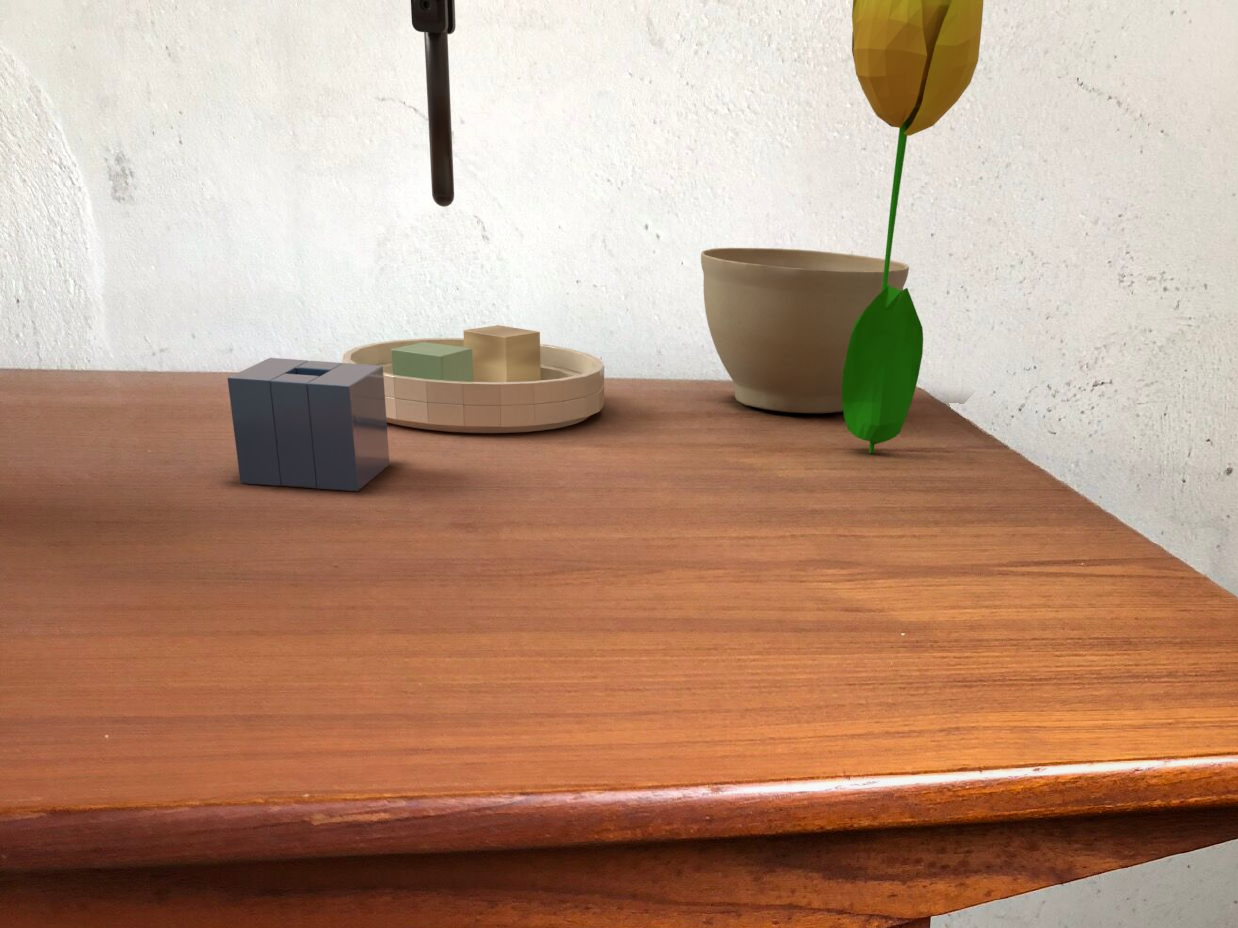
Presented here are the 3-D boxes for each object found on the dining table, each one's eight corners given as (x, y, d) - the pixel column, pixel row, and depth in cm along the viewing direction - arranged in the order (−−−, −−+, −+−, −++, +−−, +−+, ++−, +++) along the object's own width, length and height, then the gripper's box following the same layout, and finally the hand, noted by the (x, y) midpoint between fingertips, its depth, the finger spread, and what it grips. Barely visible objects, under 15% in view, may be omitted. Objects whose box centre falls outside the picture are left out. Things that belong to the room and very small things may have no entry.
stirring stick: (429, 206, 96) (416, -64, 88) (436, 205, 98) (423, -62, 90) (451, 208, 96) (439, -63, 88) (457, 206, 98) (446, -61, 90)
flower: (805, 438, 105) (846, -59, 89) (912, 441, 106) (970, -50, 90) (826, 465, 97) (874, -71, 82) (940, 469, 98) (1009, -60, 83)
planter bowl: (928, 423, 112) (947, 271, 106) (741, 429, 106) (750, 269, 101) (838, 384, 124) (851, 246, 119) (666, 387, 119) (671, 243, 113)
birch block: (465, 387, 111) (463, 330, 109) (499, 381, 114) (498, 325, 112) (507, 395, 109) (505, 337, 107) (540, 388, 112) (540, 331, 110)
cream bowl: (312, 425, 100) (307, 372, 98) (386, 377, 116) (383, 331, 114) (582, 444, 99) (582, 391, 97) (618, 393, 115) (618, 347, 114)
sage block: (394, 411, 102) (390, 349, 100) (425, 402, 106) (422, 341, 103) (444, 418, 101) (441, 355, 99) (474, 409, 104) (472, 348, 102)
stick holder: (240, 483, 85) (227, 377, 82) (280, 456, 91) (269, 357, 88) (357, 491, 85) (349, 386, 82) (389, 464, 91) (383, 365, 88)
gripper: (386, -298, 88) (404, 33, 98) (318, -357, 77) (346, 25, 86) (505, -291, 88) (512, 40, 97) (455, -349, 77) (468, 33, 86)
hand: (434, 31), depth 92 cm, fingers closed on stirring stick
